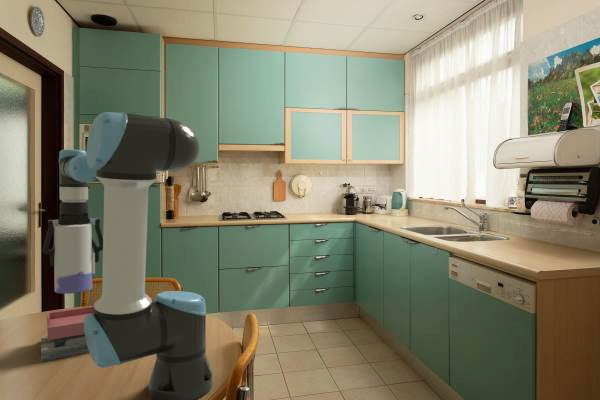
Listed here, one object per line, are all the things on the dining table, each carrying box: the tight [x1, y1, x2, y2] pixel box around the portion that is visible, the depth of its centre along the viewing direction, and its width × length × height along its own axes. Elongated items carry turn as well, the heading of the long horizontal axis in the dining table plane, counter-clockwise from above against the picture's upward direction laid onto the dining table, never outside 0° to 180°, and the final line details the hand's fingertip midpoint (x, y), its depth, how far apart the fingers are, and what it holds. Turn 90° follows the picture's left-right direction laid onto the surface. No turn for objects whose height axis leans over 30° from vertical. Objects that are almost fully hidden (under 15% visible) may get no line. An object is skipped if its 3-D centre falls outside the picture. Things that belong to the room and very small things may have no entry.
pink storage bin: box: [46, 305, 94, 346], centre depth 123 cm, size 15×15×6 cm
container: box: [53, 223, 93, 295], centre depth 121 cm, size 10×10×20 cm
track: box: [40, 334, 90, 363], centre depth 127 cm, size 17×33×2 cm, turn 123°
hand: (75, 274), depth 122 cm, fingers closed on container, 9 cm apart
